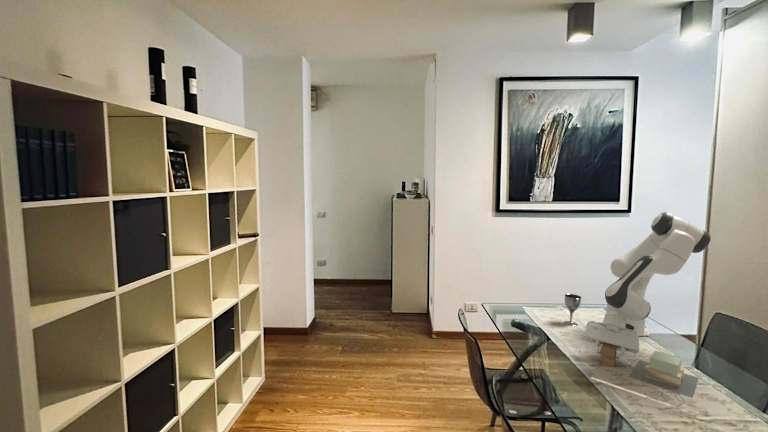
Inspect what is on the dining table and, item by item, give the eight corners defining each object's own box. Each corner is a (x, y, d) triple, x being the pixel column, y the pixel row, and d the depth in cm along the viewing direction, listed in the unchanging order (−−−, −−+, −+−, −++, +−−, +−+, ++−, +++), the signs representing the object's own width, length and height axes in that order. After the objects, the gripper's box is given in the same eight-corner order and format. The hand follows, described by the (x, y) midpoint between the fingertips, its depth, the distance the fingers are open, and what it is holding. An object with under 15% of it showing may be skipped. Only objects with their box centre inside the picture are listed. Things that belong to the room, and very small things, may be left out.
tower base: (649, 367, 163) (651, 358, 162) (683, 377, 155) (684, 367, 155) (644, 376, 155) (645, 367, 154) (679, 387, 147) (680, 377, 147)
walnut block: (601, 360, 169) (603, 342, 168) (615, 364, 166) (617, 346, 165) (599, 365, 165) (601, 346, 164) (613, 369, 162) (615, 350, 161)
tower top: (653, 359, 161) (654, 350, 161) (680, 367, 155) (681, 358, 154) (649, 367, 155) (650, 357, 154) (677, 375, 148) (678, 365, 148)
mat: (639, 361, 169) (639, 360, 169) (698, 379, 156) (698, 377, 156) (628, 378, 155) (628, 376, 155) (692, 399, 141) (692, 397, 141)
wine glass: (580, 327, 207) (583, 299, 205) (564, 325, 208) (566, 297, 206) (576, 321, 214) (579, 294, 213) (560, 319, 216) (563, 293, 214)
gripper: (587, 316, 176) (580, 344, 169) (641, 328, 163) (636, 359, 156) (588, 323, 180) (581, 350, 173) (641, 335, 167) (636, 366, 160)
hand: (608, 355), depth 165 cm, fingers open, 6 cm apart
